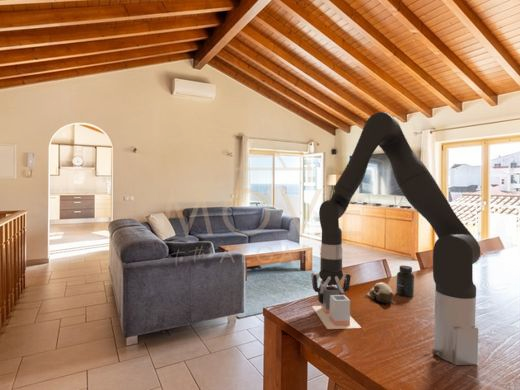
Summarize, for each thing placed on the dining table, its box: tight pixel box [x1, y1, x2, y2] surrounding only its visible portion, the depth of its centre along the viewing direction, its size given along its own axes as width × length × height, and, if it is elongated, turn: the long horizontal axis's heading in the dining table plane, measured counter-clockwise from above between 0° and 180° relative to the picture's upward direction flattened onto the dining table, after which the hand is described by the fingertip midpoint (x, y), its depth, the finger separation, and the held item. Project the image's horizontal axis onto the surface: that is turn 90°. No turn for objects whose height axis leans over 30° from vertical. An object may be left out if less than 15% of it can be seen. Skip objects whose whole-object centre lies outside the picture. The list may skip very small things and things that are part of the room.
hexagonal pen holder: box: [330, 294, 351, 326], centre depth 98 cm, size 5×5×8 cm
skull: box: [364, 282, 397, 307], centre depth 121 cm, size 12×10×10 cm
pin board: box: [311, 305, 362, 330], centre depth 103 cm, size 18×11×6 cm, turn 6°
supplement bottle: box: [395, 264, 415, 298], centre depth 129 cm, size 7×7×12 cm
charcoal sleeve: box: [320, 285, 340, 314], centre depth 107 cm, size 5×5×8 cm
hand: (330, 302), depth 107 cm, fingers open, 6 cm apart
